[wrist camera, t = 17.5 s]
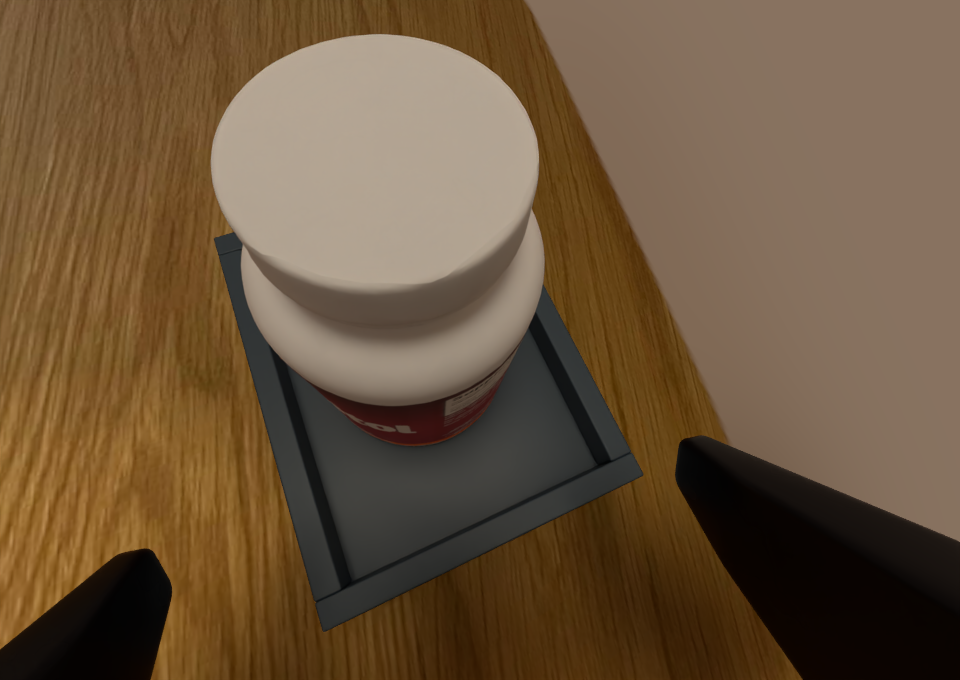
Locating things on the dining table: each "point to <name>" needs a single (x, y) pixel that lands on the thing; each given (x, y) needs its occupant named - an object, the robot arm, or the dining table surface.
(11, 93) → the dining table surface
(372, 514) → the dish
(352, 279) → the pill bottle
